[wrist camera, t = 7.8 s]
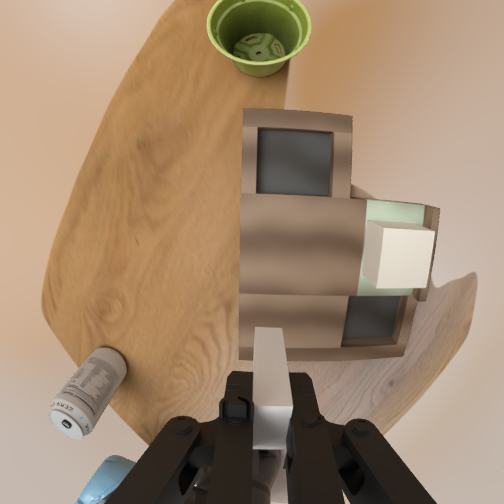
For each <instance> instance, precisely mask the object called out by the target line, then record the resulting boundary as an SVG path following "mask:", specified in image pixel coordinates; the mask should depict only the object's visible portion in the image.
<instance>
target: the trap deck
mask: <svg viewBox="0 0 504 504" xmlns="http://www.w3.org/2000/svg"><path fill="white" fill-rule="evenodd" d="M351 166H352V116H349V115H341V114H331V113H322V112H310V111H297V110H280V109H247V108H243V140H242V178H241V224H240V284H239V360H253V355H254V338H255V327H270V328H282V331H283V338H284V345H285V352H286V359H287V361H340V360H362V359H377V358H390V357H401V356H403V355H404V351H405V348H406V344H407V341H408V337H409V333H410V329H411V325H412V321H413V317H414V313H415V309H416V304H417V300H418V301H419V302H421V301H426V297H427V292H428V287H429V282H430V277H431V272H432V266H433V260H434V254H435V248H436V240H437V233H438V225H439V215H440V208H436V207H432V206H428V205H424V204H418V203H408V202H399V201H388V200H378V199H366V198H354V197H350V190H351V168H352V167H351ZM367 220H377V221H392V222H406V223H415V224H417V225H420V226H423V227H425V228H428V229H430V230H433V231H435V236H434V243H433V250H432V257H431V263H430V269H429V275H428V280H427V286H426V288H375V287H374V286H373V284H372V283H371V282H370V281H369V280H368V279H367V278H366V277H365V276H364V275H363V274H362V273H361V272H362V264H363V255H364V246H365V236H366V225H367Z"/></svg>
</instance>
